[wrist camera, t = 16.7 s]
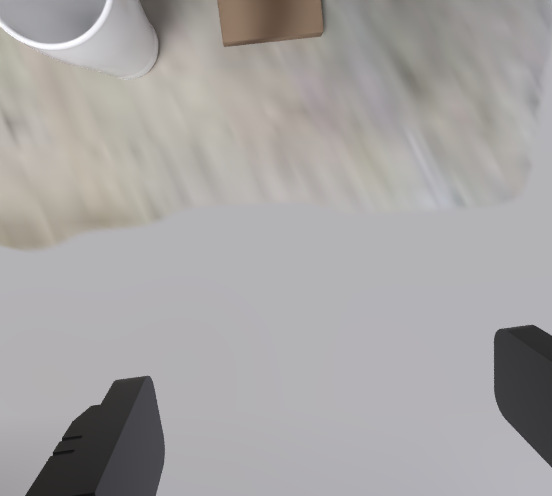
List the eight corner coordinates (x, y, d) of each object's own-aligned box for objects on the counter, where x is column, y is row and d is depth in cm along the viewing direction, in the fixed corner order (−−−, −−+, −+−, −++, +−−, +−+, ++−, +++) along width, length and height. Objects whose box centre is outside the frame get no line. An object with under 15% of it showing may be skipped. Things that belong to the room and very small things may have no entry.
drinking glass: (90, -10, 35) (-24, -125, 20) (176, 13, 36) (126, -82, 21) (78, 78, 36) (-37, 31, 22) (161, 99, 37) (104, 66, 22)
